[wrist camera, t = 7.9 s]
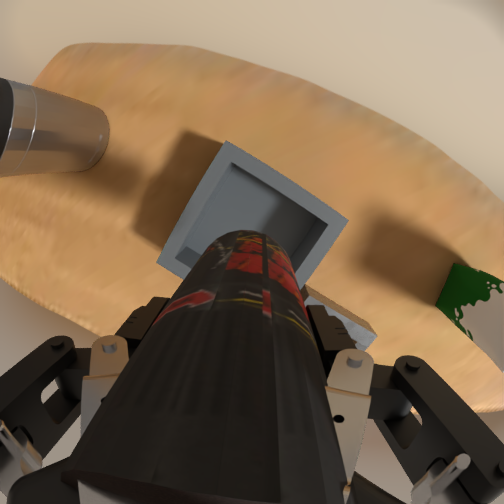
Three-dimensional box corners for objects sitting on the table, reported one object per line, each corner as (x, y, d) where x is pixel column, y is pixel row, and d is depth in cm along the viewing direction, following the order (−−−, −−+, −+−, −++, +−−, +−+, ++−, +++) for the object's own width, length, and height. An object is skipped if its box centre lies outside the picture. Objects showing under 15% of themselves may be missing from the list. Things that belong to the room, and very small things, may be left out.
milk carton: (428, 309, 35) (507, 387, 16) (452, 254, 33) (549, 309, 13) (460, 318, 36) (531, 384, 16) (482, 269, 33) (565, 320, 14)
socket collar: (254, 349, 37) (254, 364, 33) (304, 283, 34) (309, 295, 31) (318, 379, 38) (322, 394, 35) (368, 323, 36) (377, 336, 32)
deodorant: (294, 314, 18) (336, 550, 4) (205, 319, 18) (131, 538, 4) (290, 225, 16) (407, 467, 2) (192, 234, 17) (4, 426, 2)
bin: (172, 247, 33) (156, 262, 27) (231, 147, 30) (225, 140, 24) (268, 305, 35) (270, 329, 29) (333, 212, 32) (348, 220, 26)
